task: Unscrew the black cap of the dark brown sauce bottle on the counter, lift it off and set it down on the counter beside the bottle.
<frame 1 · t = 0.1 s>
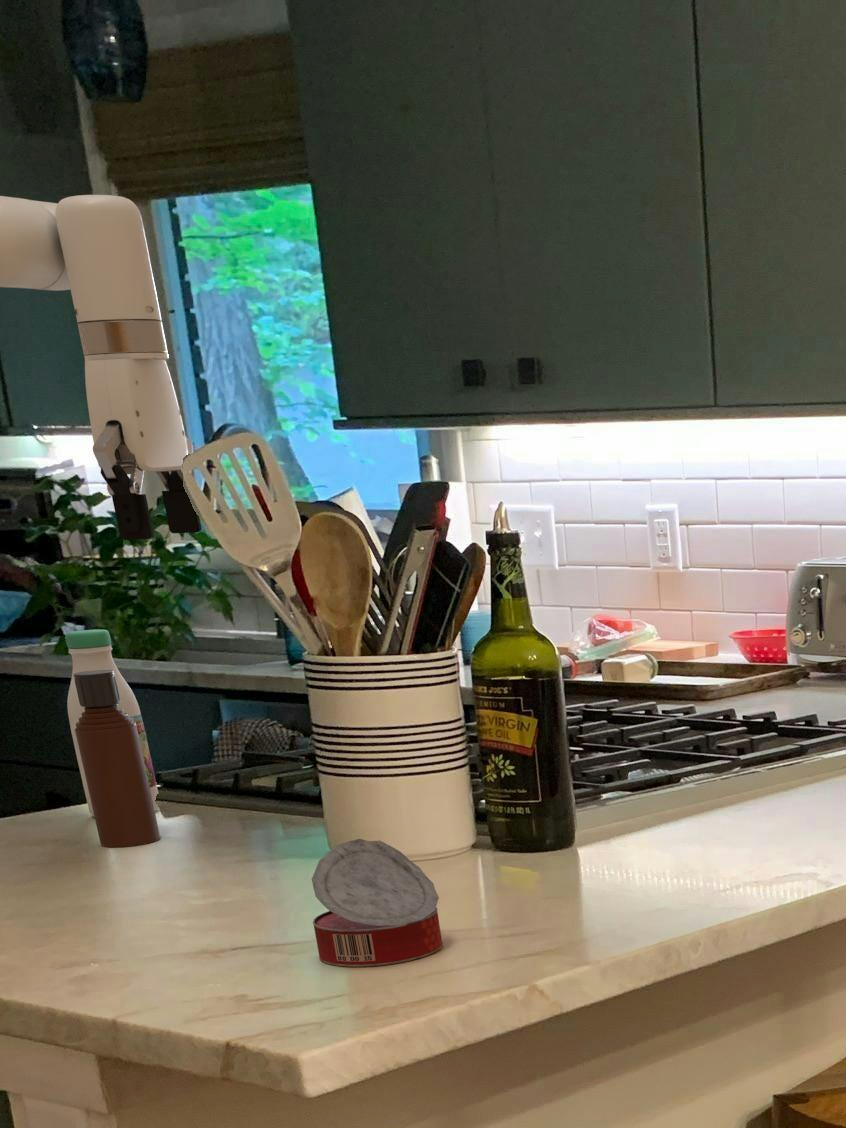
hand: (162, 535, 191), 30 cm above the counter, tool pointing down, fingers open, 9 cm apart
sauce bottle: (130, 841, 206), on the counter
cap: (94, 675, 199), point 17 cm above the counter, screwed on, not yet turned
milk bottle: (126, 814, 222), on the counter
canned food: (382, 953, 158), on the counter
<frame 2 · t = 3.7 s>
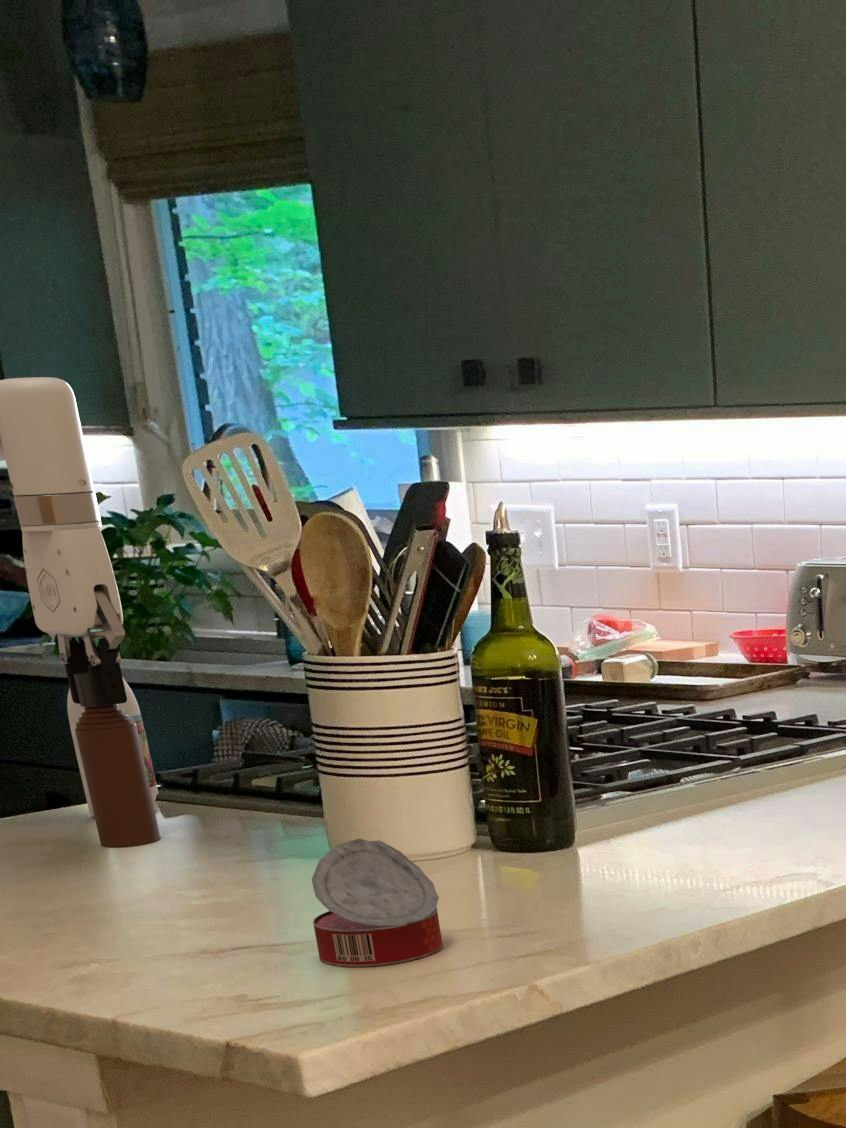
hand: (100, 701, 200), 15 cm above the counter, tool pointing down, fingers closed on cap, 3 cm apart
cap: (94, 675, 199), point 17 cm above the counter, screwed on, not yet turned, touching gripper
everything else where it was.
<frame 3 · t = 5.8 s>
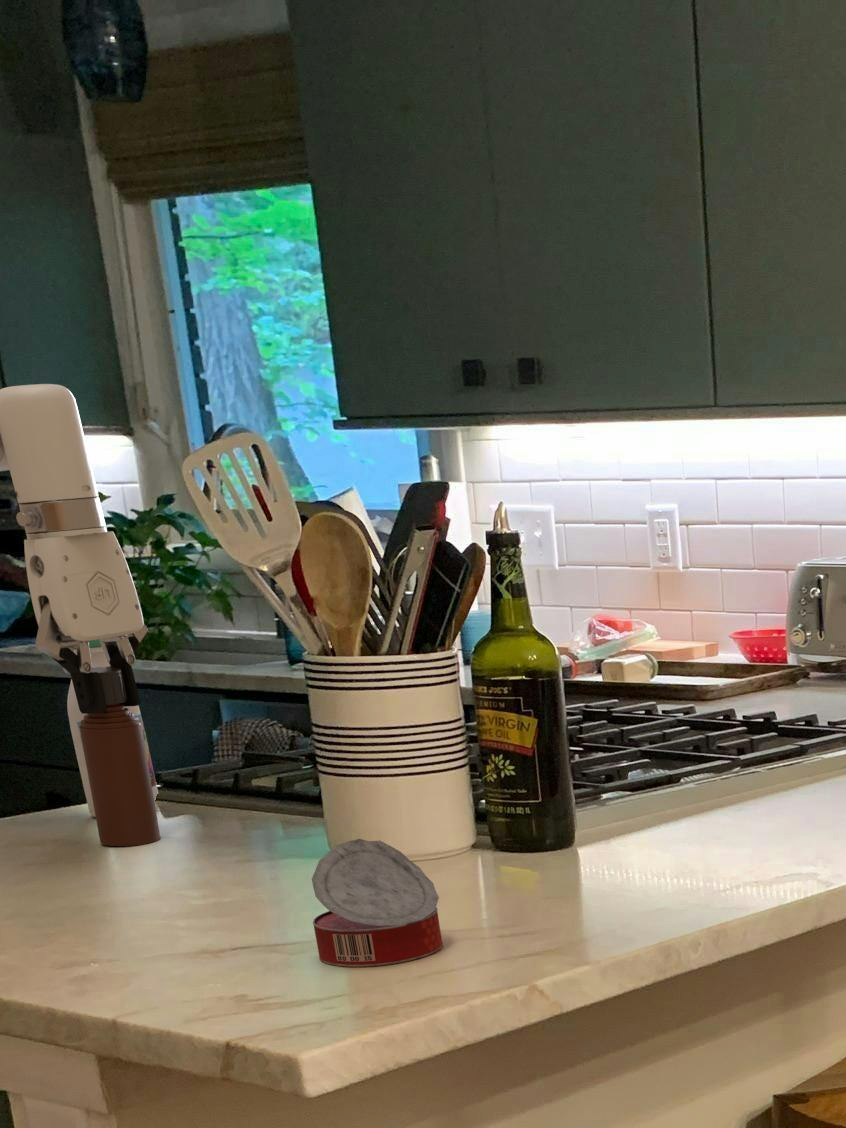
hand: (110, 707, 200), 14 cm above the counter, tool pointing down, fingers closed on cap, 3 cm apart
sauce bottle: (130, 840, 206), on the counter, touching gripper
cap: (101, 673, 199), point 17 cm above the counter, turned 106° so far, risen 0.1 cm, still on its thread, touching gripper
everything else where it was.
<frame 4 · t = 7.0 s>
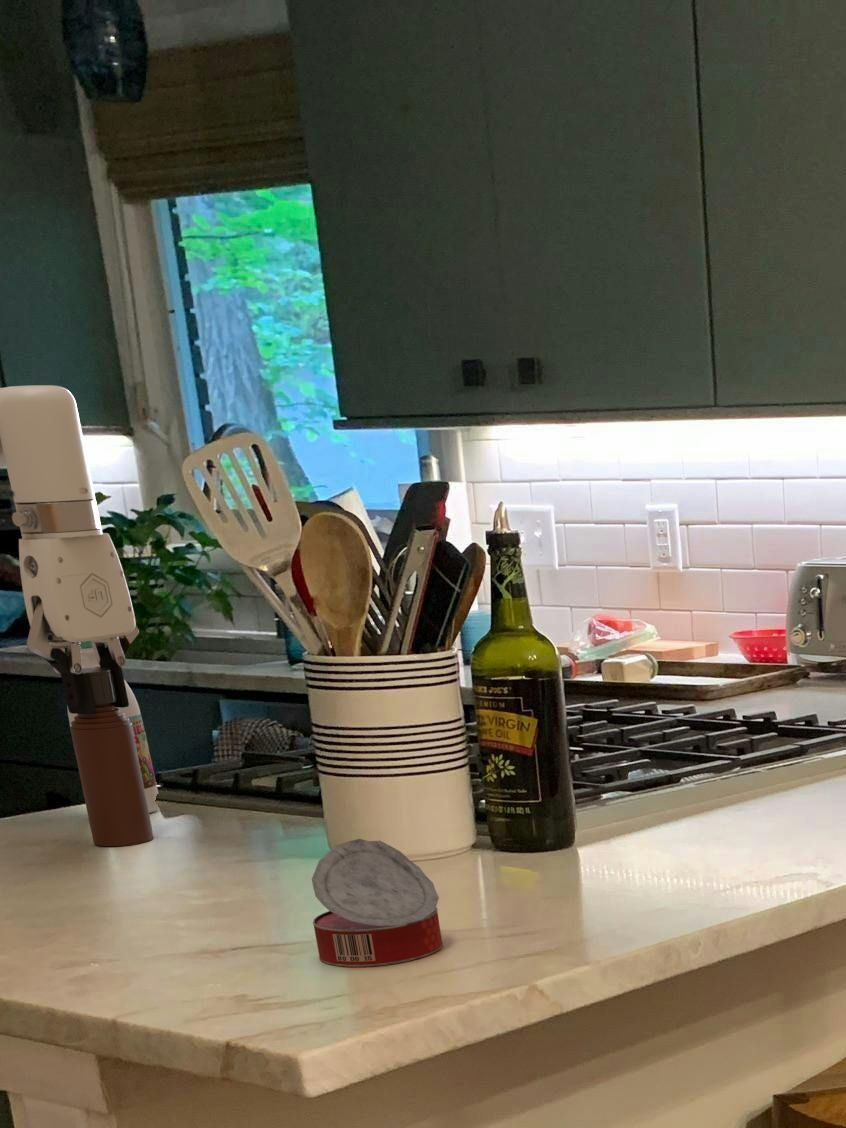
hand: (99, 708, 201), 14 cm above the counter, tool pointing down, fingers closed on cap, 3 cm apart
sauce bottle: (123, 840, 206), on the counter
cap: (90, 673, 199), point 17 cm above the counter, turned 104° so far, risen 0.1 cm, still on its thread, touching gripper
everything else where it was.
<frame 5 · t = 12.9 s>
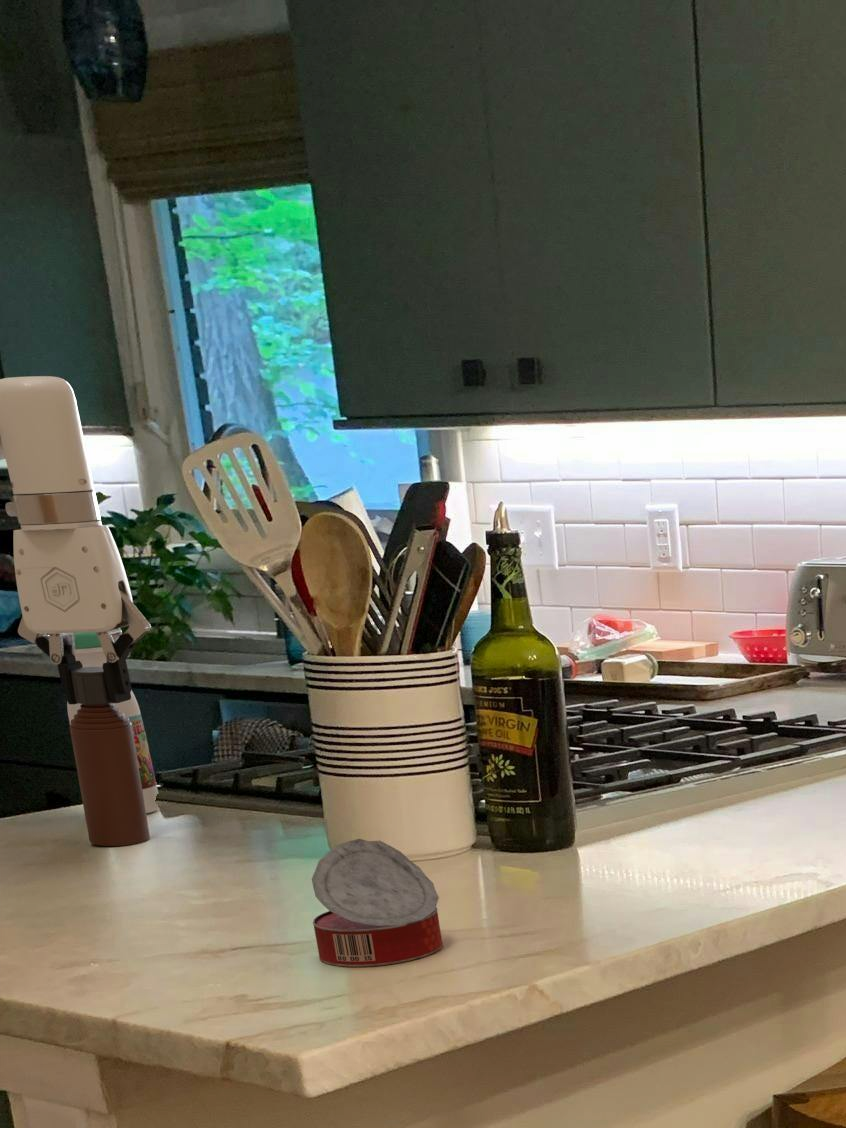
hand: (99, 700, 200), 15 cm above the counter, tool pointing down, fingers closed on cap, 4 cm apart
sauce bottle: (119, 839, 206), on the counter
cap: (91, 672, 199), point 17 cm above the counter, turned 135° so far, risen 0.1 cm, still on its thread, touching gripper
everything else where it was.
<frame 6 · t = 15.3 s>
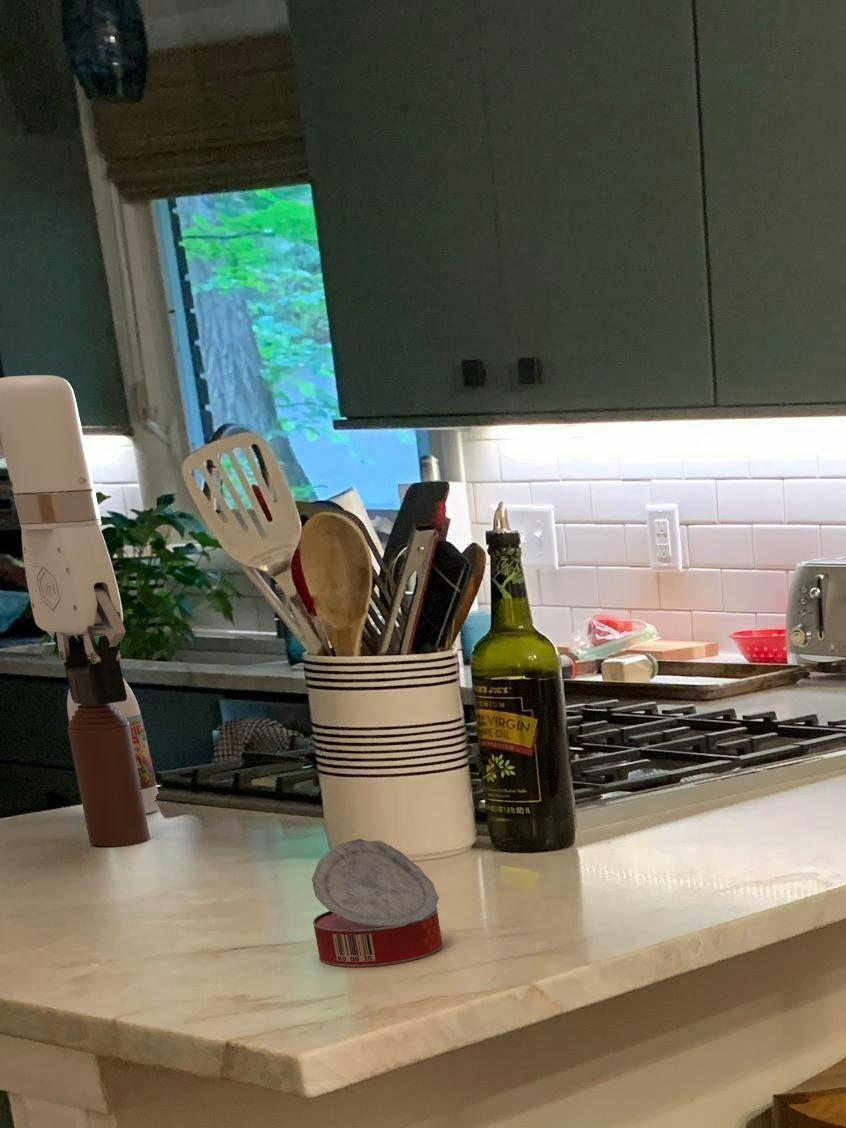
hand: (99, 699, 200), 15 cm above the counter, tool pointing down, fingers closed on cap, 4 cm apart
cap: (88, 672, 199), point 17 cm above the counter, turned 211° so far, risen 0.2 cm, still on its thread, touching gripper
everything else where it was.
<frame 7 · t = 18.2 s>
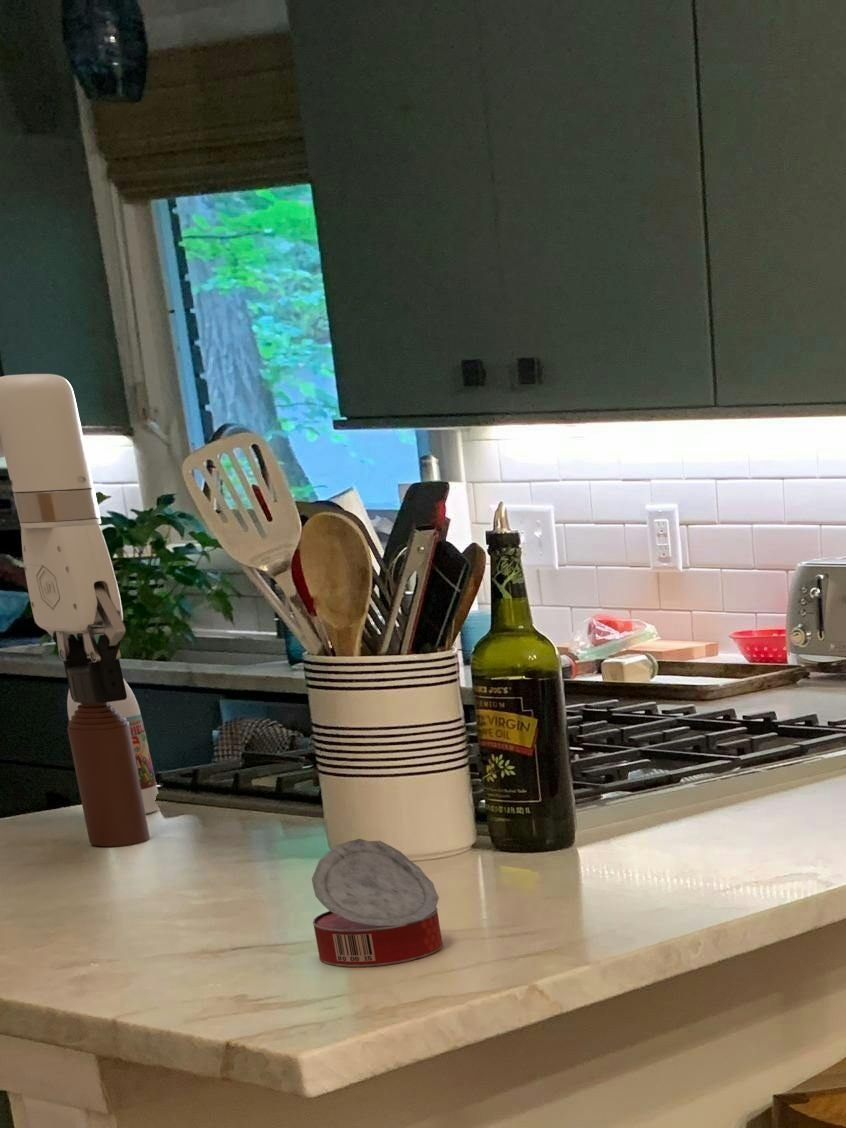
hand: (99, 698, 200), 15 cm above the counter, tool pointing down, fingers closed on cap, 4 cm apart
cap: (88, 670, 199), point 18 cm above the counter, turned 321° so far, risen 0.3 cm, still on its thread, touching gripper
everything else where it was.
when the fingers open (2 cm above the counter, at t = 27.2 s): cap drops 2 cm, point 3 cm above the counter.
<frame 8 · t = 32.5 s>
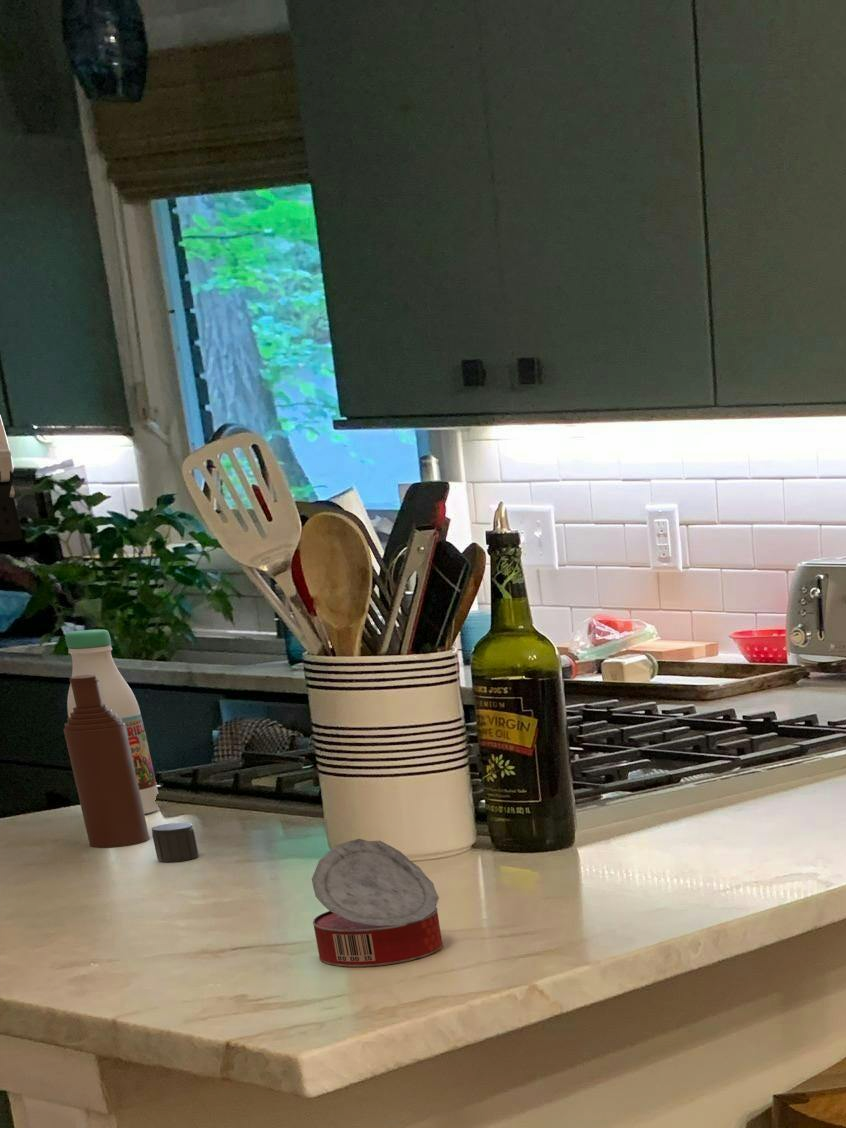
cap: (172, 829, 196), point 3 cm above the counter, off its thread
at the end: cap came off its thread; cap point 2.9 cm above the counter; the gripper is holding nothing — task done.
